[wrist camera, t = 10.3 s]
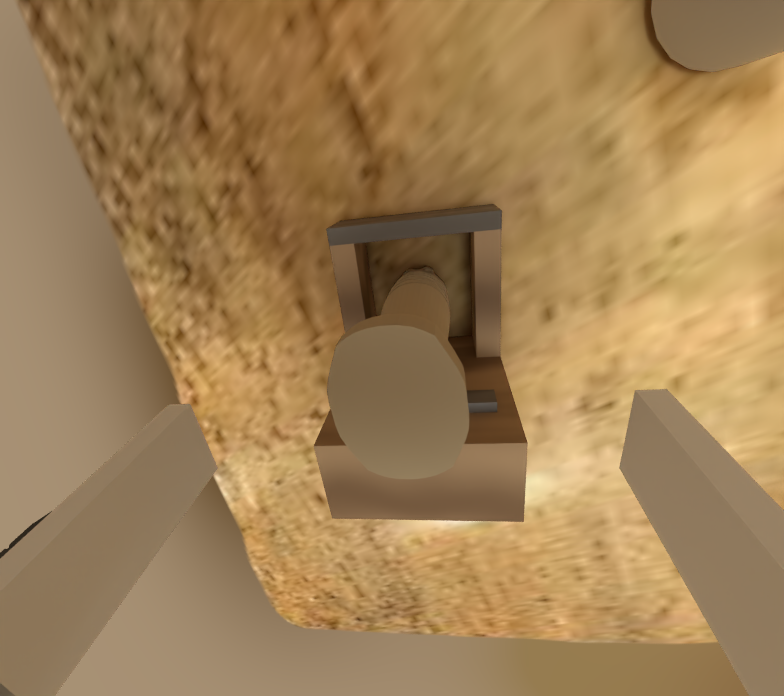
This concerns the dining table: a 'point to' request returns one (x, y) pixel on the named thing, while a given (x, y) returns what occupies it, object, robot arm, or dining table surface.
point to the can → (718, 31)
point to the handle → (402, 384)
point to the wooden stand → (482, 374)
